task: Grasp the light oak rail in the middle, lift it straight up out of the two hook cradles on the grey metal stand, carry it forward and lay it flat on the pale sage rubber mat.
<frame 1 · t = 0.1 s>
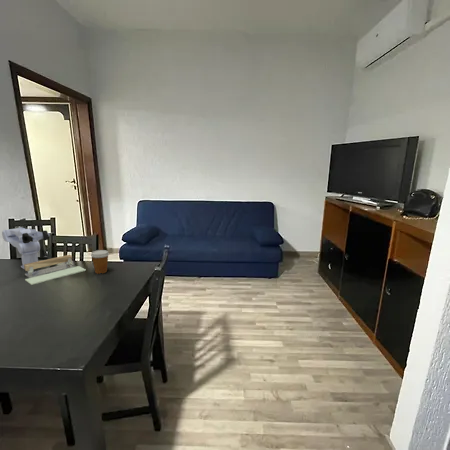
hand: (40, 238, 154), 22 cm above the table, tool horizontal, fingers open, 7 cm apart
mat: (57, 275, 159), on the table
disposable coffee cup: (101, 272, 166), on the table
rack: (50, 271, 165), on the table
rail: (49, 264, 164), point 4 cm above the table, touching rack
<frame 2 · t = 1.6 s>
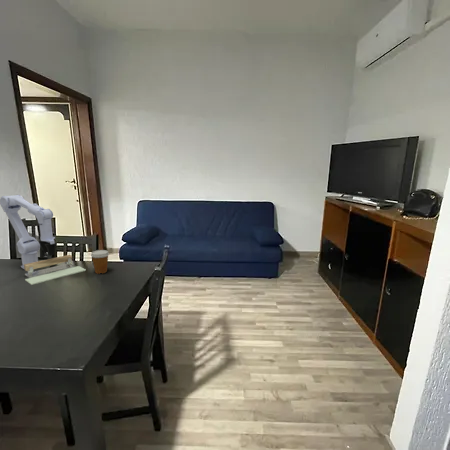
hand: (48, 253, 163), 10 cm above the table, tool pointing down, fingers open, 7 cm apart
nothing on the table moved.
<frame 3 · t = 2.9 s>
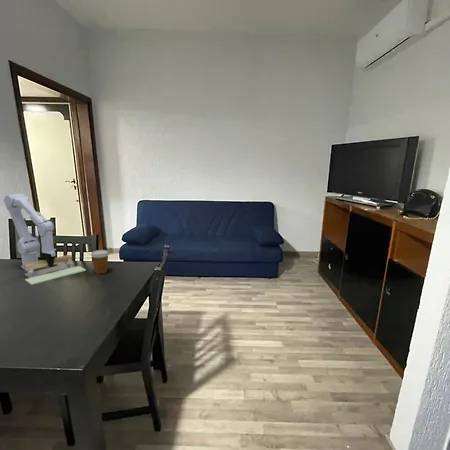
hand: (49, 265, 164), 3 cm above the table, tool pointing down, fingers closed on rail, 3 cm apart
rail: (49, 264, 164), point 4 cm above the table, touching gripper, rack
everything else where it was.
when the fingers open (2 cm above the table, at t = 7.5 s): rail drops 1 cm, resting on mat.
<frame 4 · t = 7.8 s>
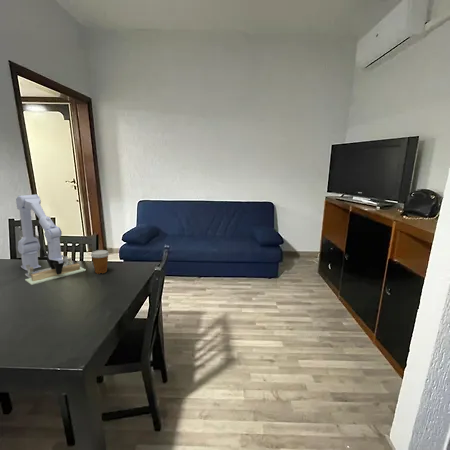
hand: (56, 272, 159), 2 cm above the table, tool pointing down, fingers open, 5 cm apart
rail: (57, 274, 159), point 1 cm above the table, touching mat
everything else where it was.
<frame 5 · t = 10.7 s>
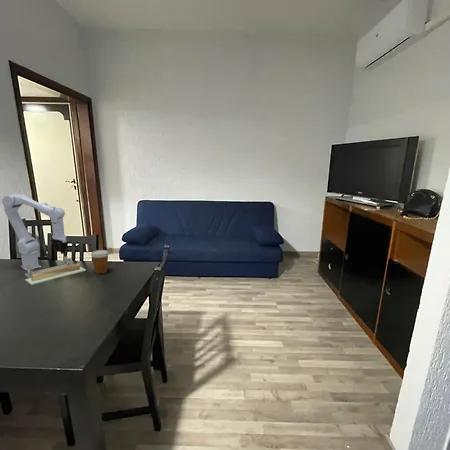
hand: (60, 252, 167), 10 cm above the table, tool pointing down, fingers open, 7 cm apart
nothing on the table moved.
at the end: rail inside the target area (0.0 cm from its centre), point 0.6 cm above the table; rail touching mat; the gripper is holding nothing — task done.
